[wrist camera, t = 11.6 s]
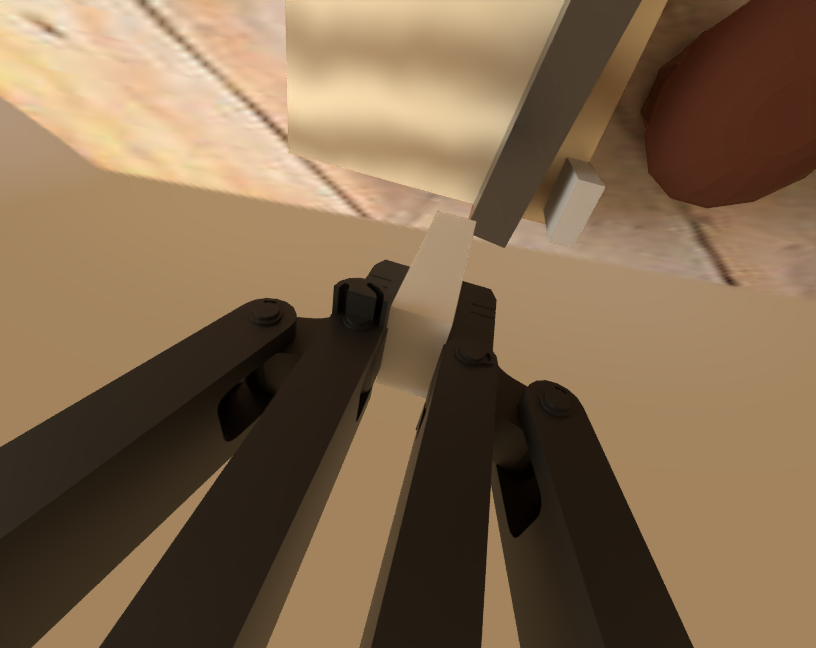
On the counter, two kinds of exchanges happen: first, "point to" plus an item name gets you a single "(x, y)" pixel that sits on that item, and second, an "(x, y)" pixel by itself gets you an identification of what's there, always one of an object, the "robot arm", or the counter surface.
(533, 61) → the stool seat
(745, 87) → the muffin
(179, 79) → the counter surface
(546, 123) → the folding leg
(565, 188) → the block
